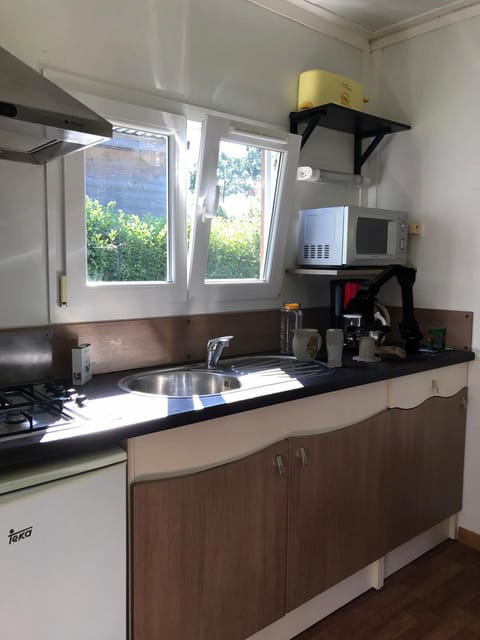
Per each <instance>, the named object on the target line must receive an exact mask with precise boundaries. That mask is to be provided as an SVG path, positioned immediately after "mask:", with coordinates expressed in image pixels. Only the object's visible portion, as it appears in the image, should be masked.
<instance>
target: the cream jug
mask: <svg viewBox="0 0 480 640" xmlns="http://www.w3.org/2000/svg"><path fill="white" fill-rule="evenodd" d="M358 339H359V340H358V341H359V342H358V344H359V346H358V352H359V353H358V356H359V358H360V359H365V360H372V359H375V357H376V353H375V347H376V337H374V336H359V338H358Z"/></svg>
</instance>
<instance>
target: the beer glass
mask: <svg viewBox="0 0 480 640" xmlns="http://www.w3.org/2000/svg"><path fill="white" fill-rule="evenodd" d="M325 334H326V337H325V345H326V352H327V363H326V368H331V369H335V368H334V367H341V368H342V367H343V365H342V364H343V363H342V353H343V349H344V340H345V339H344V329H341V328H329V329H326V333H325Z"/></svg>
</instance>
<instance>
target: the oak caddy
mask: <svg viewBox="0 0 480 640" xmlns="http://www.w3.org/2000/svg"><path fill="white" fill-rule="evenodd" d="M375 354H396V355H397V356H398V357H400V358H401V359H407V354H406V351H404V350H403V348H401V347H399V346H379V348H378V349H377V346H375Z"/></svg>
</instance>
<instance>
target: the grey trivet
mask: <svg viewBox="0 0 480 640" xmlns="http://www.w3.org/2000/svg"><path fill="white" fill-rule="evenodd" d="M352 360H353V361H354V360H357V361H356V362H359V361H364V362H363V363H377V362H378V361H379V362H382V358H381V357H378V356H375V359H372V360H365V359H360V358H359V355H356V356H353V357H352Z"/></svg>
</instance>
